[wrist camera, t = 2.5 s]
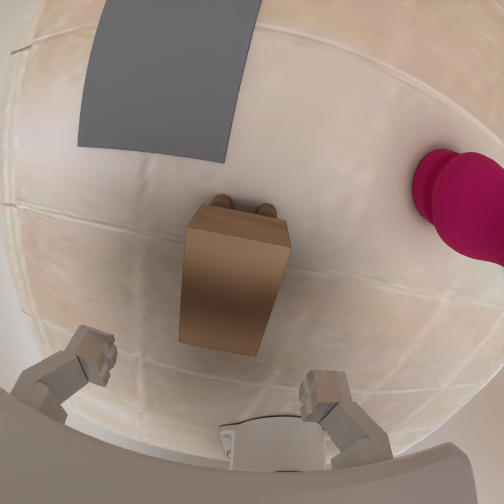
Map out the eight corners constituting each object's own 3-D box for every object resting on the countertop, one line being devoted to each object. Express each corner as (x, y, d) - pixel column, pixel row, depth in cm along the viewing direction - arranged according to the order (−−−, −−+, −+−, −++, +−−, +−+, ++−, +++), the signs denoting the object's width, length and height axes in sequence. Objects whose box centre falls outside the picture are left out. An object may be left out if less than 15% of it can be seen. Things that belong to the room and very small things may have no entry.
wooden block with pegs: (258, 292, 23) (255, 356, 16) (199, 281, 22) (179, 341, 16) (282, 202, 19) (291, 248, 13) (212, 188, 19) (186, 227, 12)
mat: (224, 162, 18) (223, 163, 17) (80, 145, 17) (77, 146, 17) (265, -15, 11) (265, -17, 11) (113, -11, 10) (111, -12, 10)
